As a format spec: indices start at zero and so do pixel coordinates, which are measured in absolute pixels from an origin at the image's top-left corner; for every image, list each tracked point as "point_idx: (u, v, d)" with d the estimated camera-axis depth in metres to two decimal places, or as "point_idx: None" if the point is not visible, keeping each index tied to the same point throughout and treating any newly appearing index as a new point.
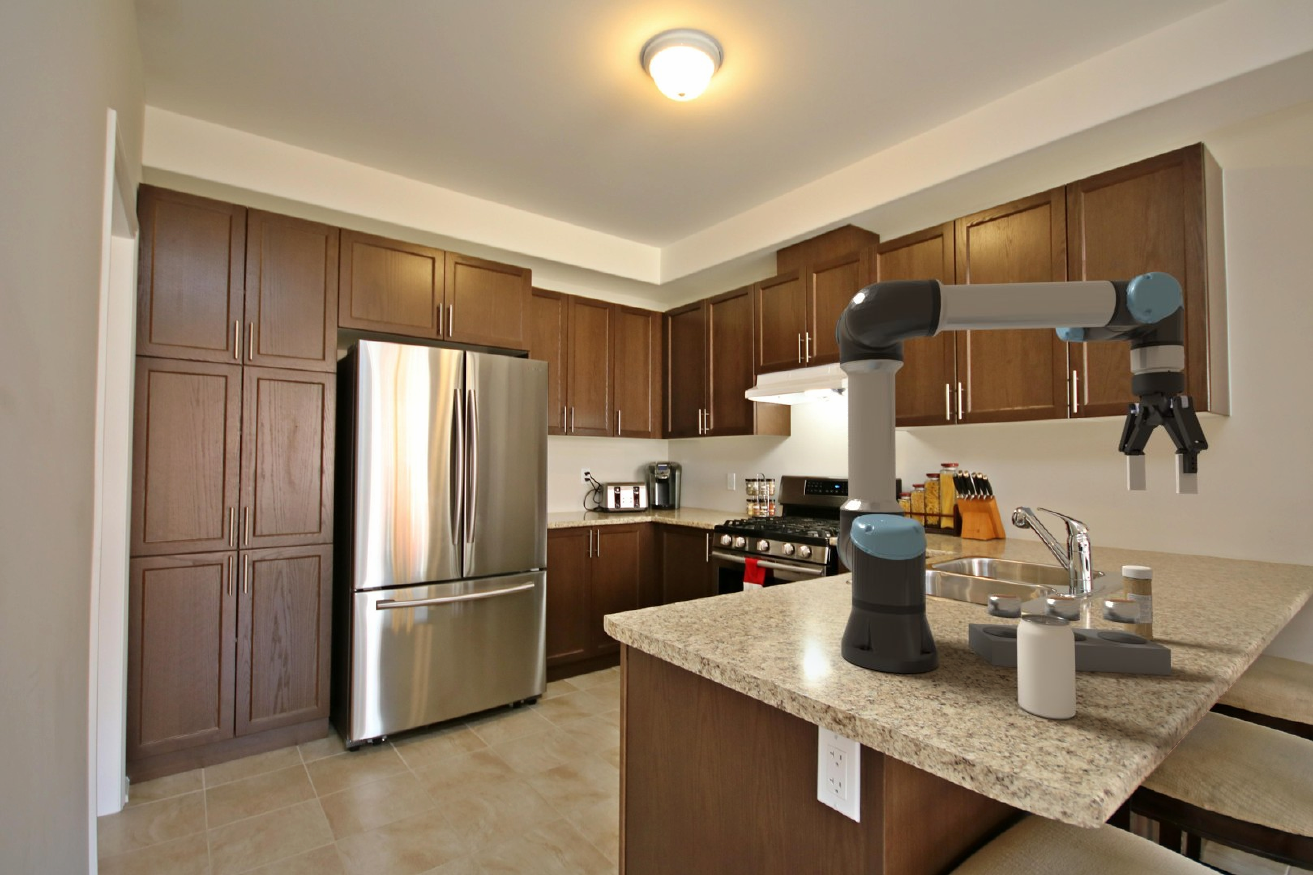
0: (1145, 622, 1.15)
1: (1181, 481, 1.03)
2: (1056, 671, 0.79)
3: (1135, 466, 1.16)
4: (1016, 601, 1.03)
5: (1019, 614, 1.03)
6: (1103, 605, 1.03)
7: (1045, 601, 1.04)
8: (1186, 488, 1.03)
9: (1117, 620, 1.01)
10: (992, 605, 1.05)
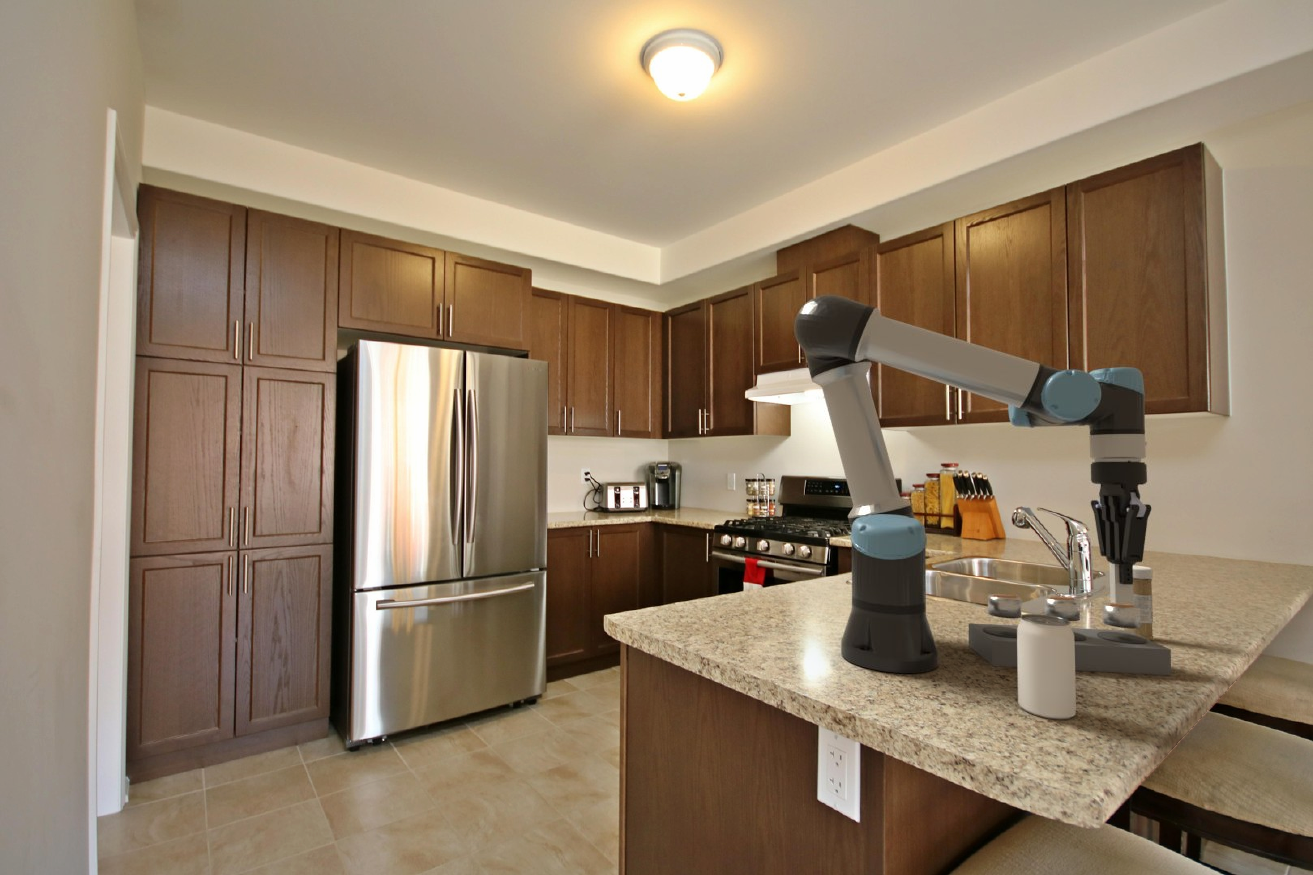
0: (1145, 622, 1.15)
1: (1117, 591, 1.02)
2: (1056, 671, 0.79)
3: None
4: (1016, 601, 1.03)
5: (1019, 614, 1.03)
6: (1103, 609, 1.03)
7: (1045, 601, 1.04)
8: (1122, 598, 1.02)
9: (1117, 625, 1.01)
10: (992, 605, 1.05)
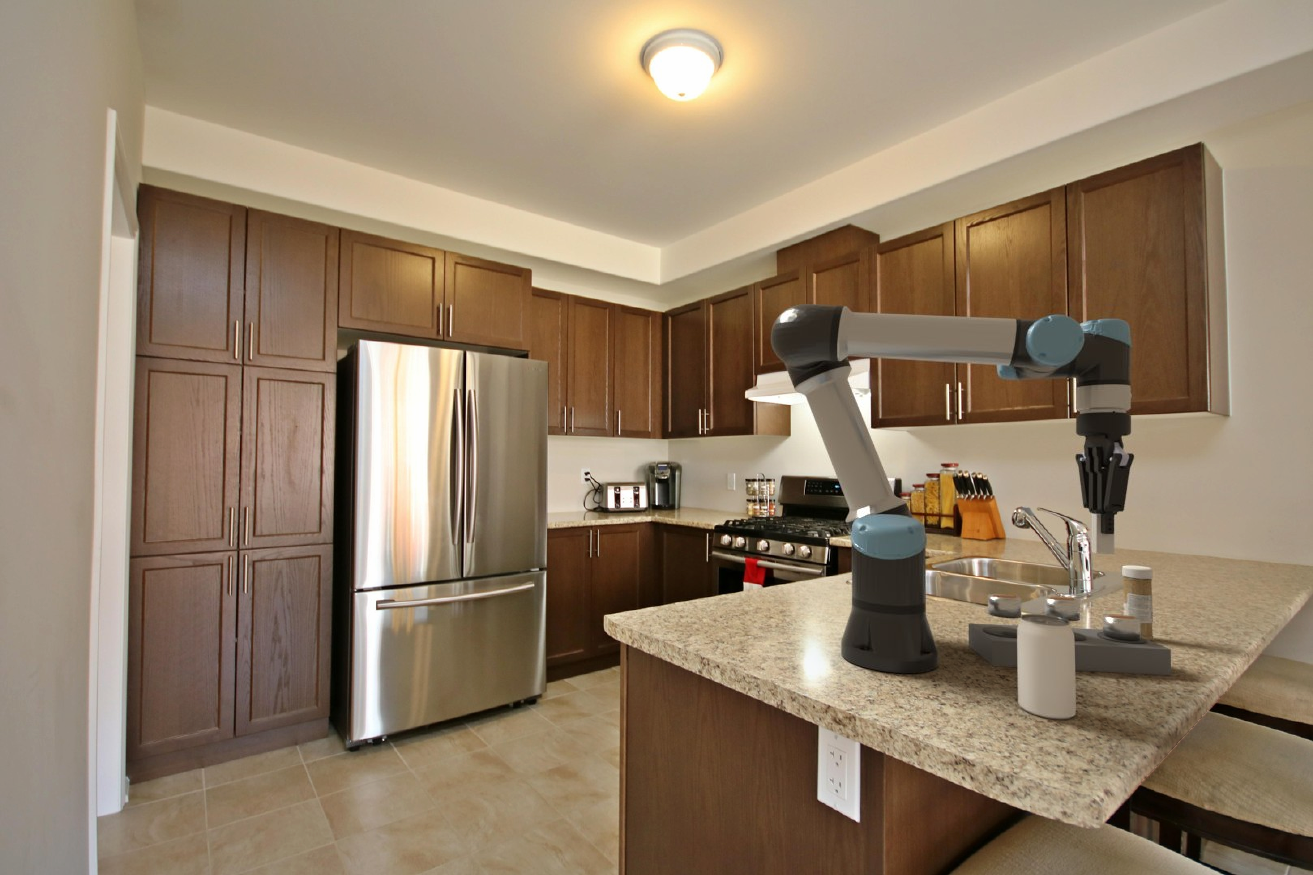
0: (1145, 622, 1.15)
1: (1098, 541, 1.03)
2: (1056, 671, 0.79)
3: None
4: (1016, 601, 1.03)
5: (1019, 614, 1.03)
6: (1104, 621, 1.03)
7: (1045, 601, 1.04)
8: (1103, 548, 1.03)
9: (1117, 636, 1.01)
10: (992, 605, 1.05)
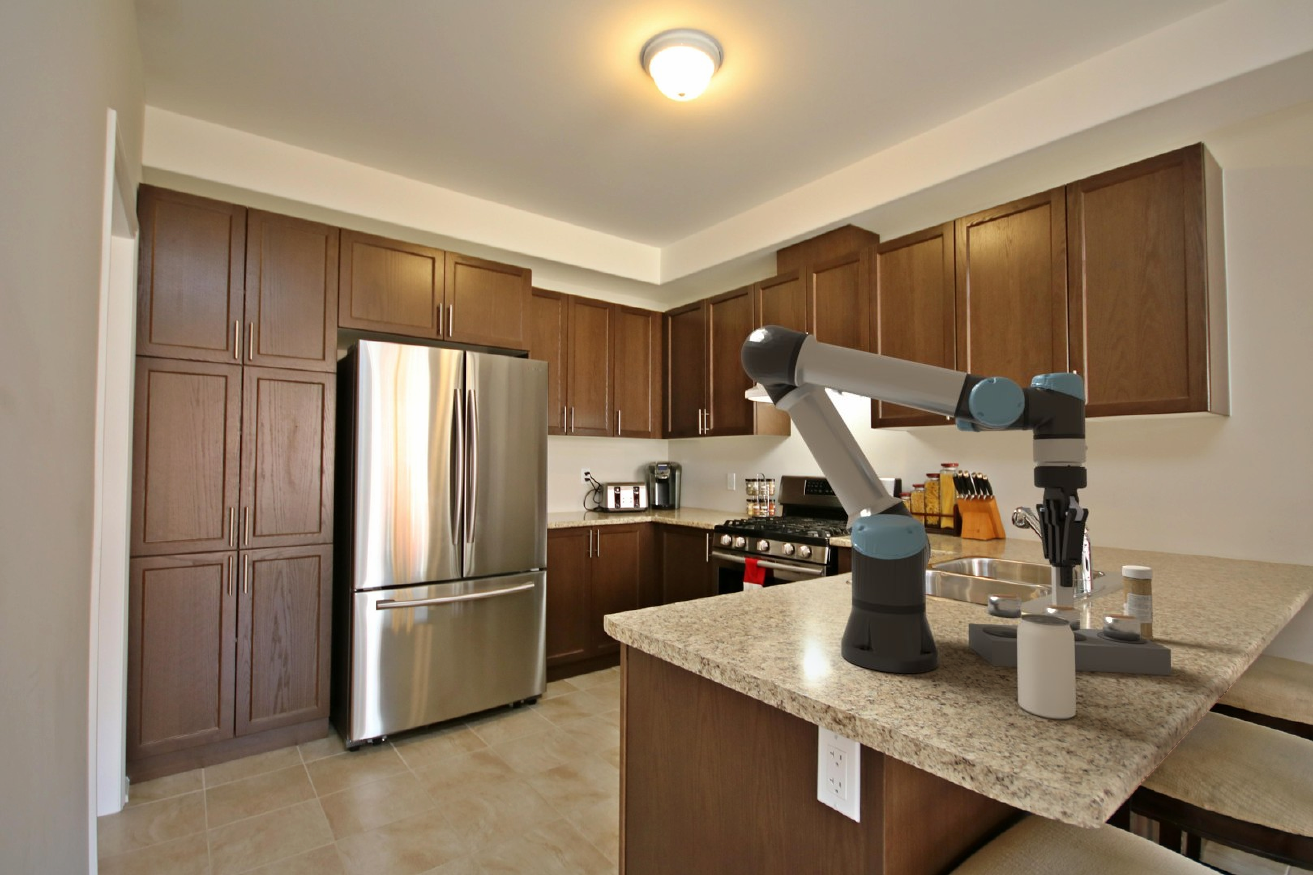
0: (1145, 622, 1.15)
1: (1058, 594, 1.03)
2: (1056, 671, 0.79)
3: None
4: (1016, 601, 1.03)
5: (1019, 614, 1.03)
6: (1104, 621, 1.03)
7: (1045, 610, 1.04)
8: (1063, 601, 1.03)
9: (1117, 636, 1.01)
10: (992, 605, 1.05)
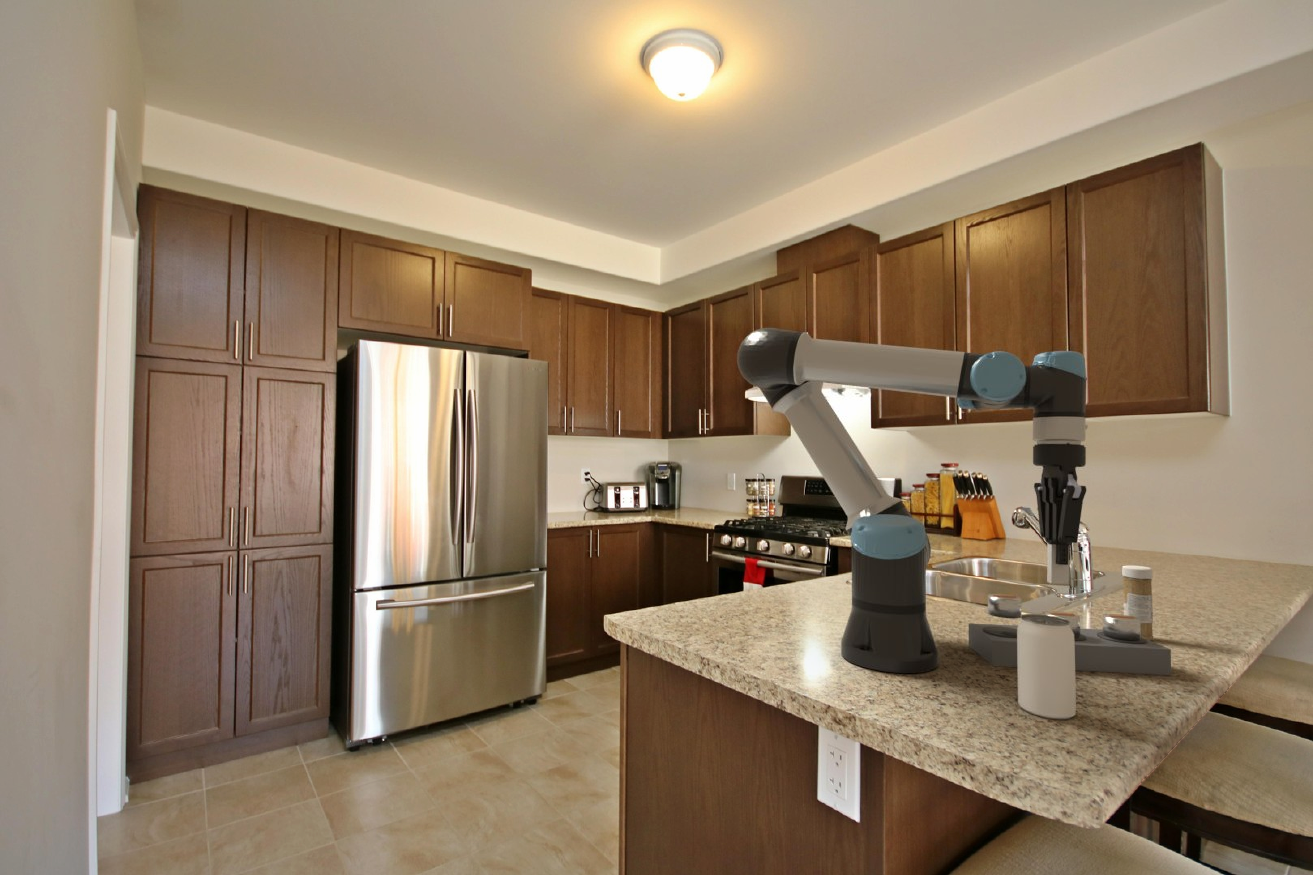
0: (1145, 622, 1.15)
1: (1053, 571, 1.04)
2: (1056, 671, 0.79)
3: None
4: (1016, 601, 1.03)
5: (1019, 614, 1.03)
6: (1104, 621, 1.03)
7: None
8: (1058, 578, 1.04)
9: (1117, 636, 1.01)
10: (992, 605, 1.05)
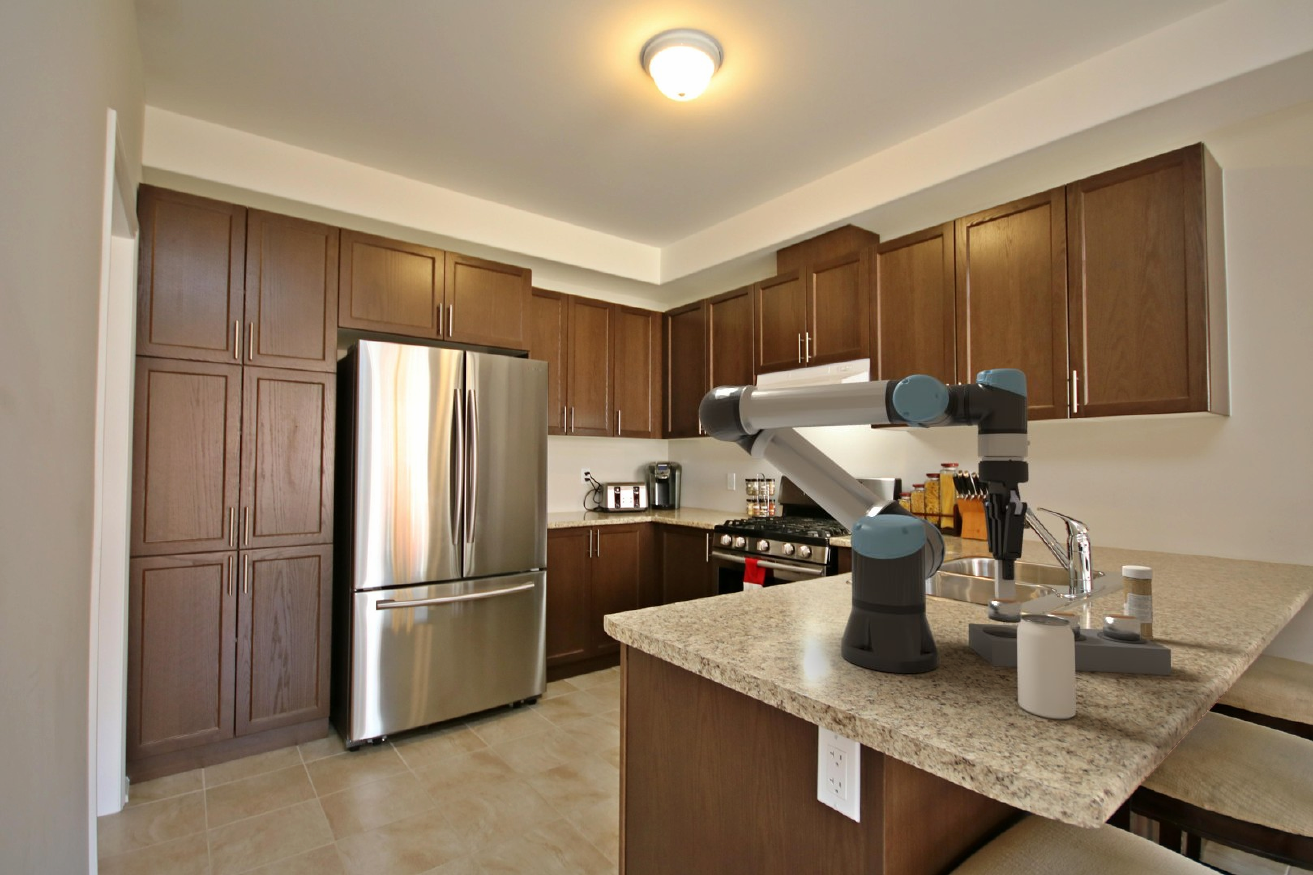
0: (1145, 622, 1.15)
1: (1000, 587, 1.05)
2: (1056, 671, 0.79)
3: None
4: (1016, 605, 1.03)
5: (1019, 618, 1.03)
6: (1104, 621, 1.03)
7: None
8: (1005, 593, 1.05)
9: (1117, 636, 1.01)
10: (992, 609, 1.05)
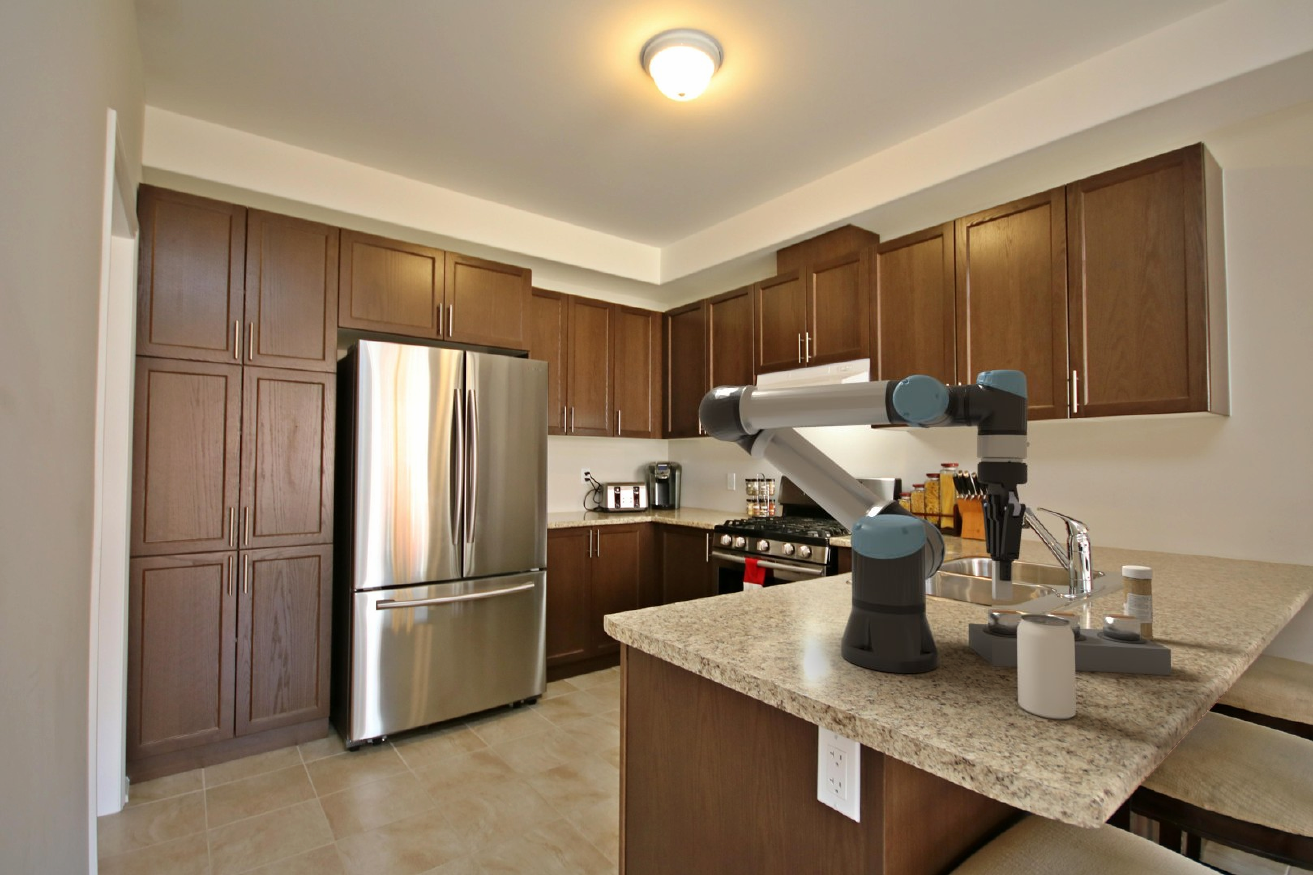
0: (1145, 622, 1.15)
1: (997, 588, 1.05)
2: (1056, 671, 0.79)
3: None
4: (1016, 617, 1.03)
5: None
6: (1104, 621, 1.03)
7: None
8: (1002, 594, 1.05)
9: (1117, 636, 1.01)
10: (992, 620, 1.04)
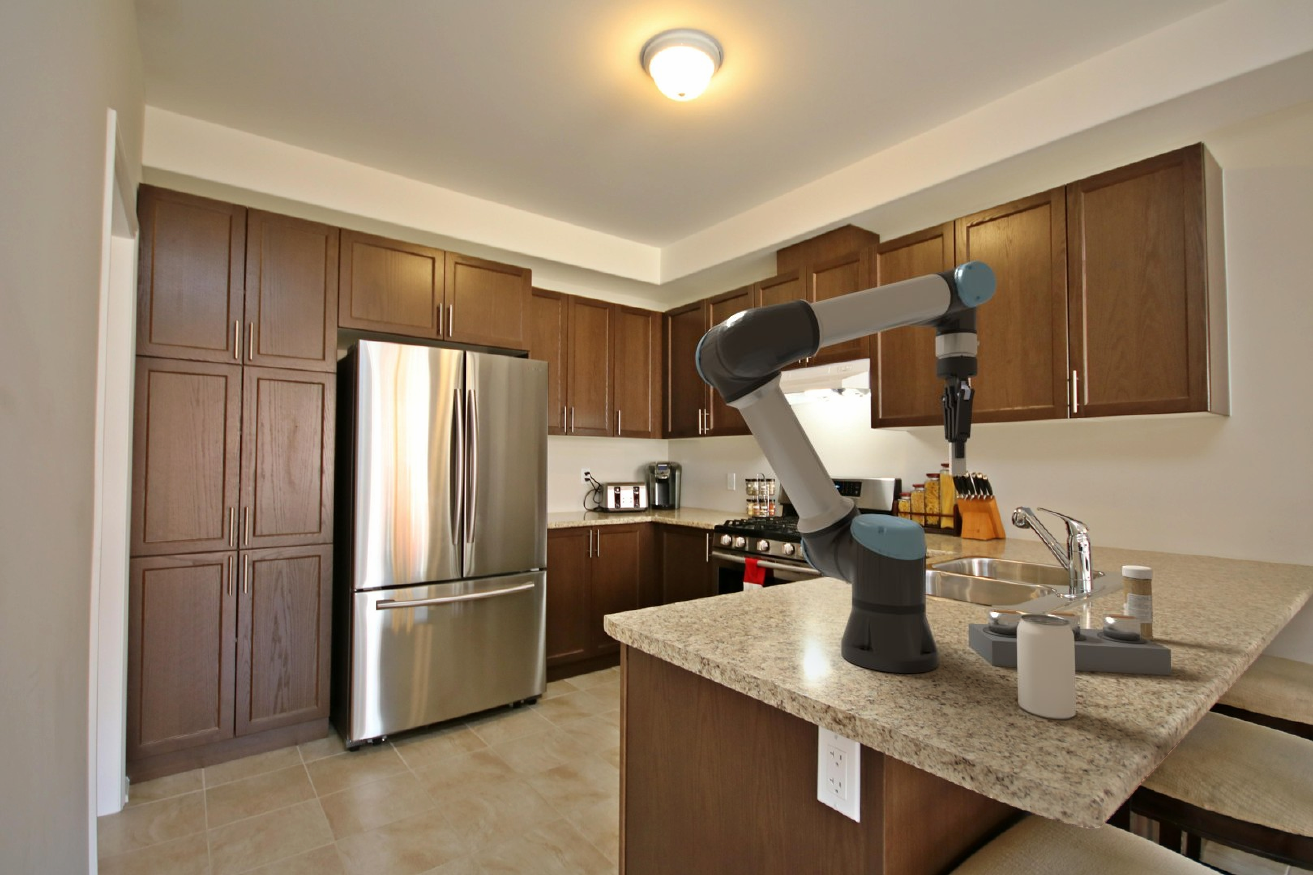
0: (1145, 622, 1.15)
1: (953, 465, 1.23)
2: (1056, 671, 0.79)
3: None
4: (1016, 617, 1.03)
5: None
6: (1104, 621, 1.03)
7: None
8: (957, 471, 1.23)
9: (1117, 636, 1.01)
10: (992, 620, 1.04)
